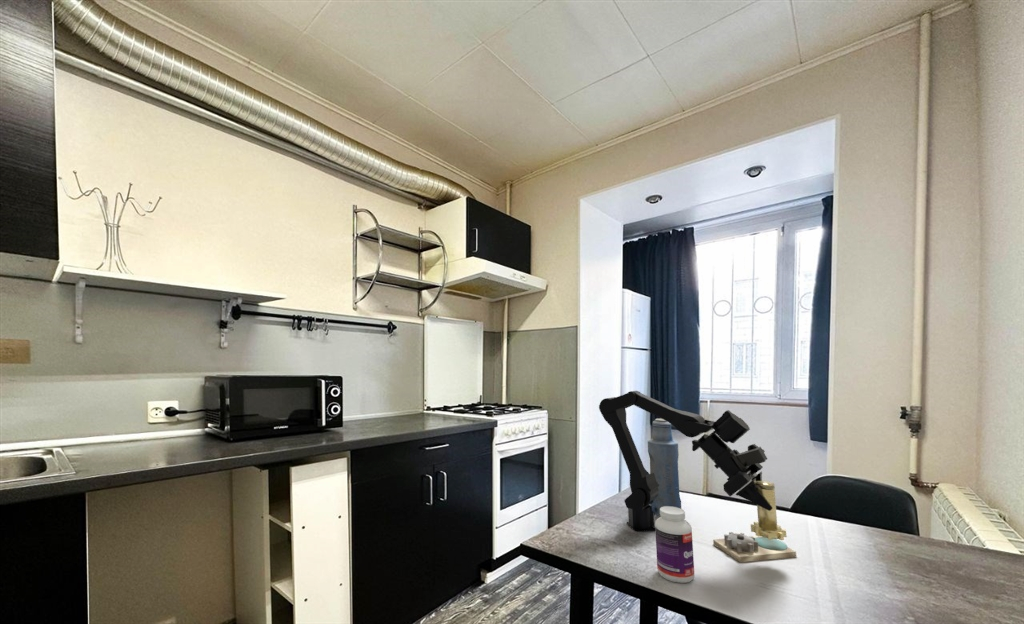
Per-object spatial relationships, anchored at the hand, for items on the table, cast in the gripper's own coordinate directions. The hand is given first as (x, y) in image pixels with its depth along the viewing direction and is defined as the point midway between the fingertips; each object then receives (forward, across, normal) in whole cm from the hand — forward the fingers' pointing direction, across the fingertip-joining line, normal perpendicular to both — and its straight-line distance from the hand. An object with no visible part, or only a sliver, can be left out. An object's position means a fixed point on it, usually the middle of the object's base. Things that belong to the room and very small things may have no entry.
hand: (772, 507), depth 99 cm
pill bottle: (-2, -21, +22) cm, 30 cm away
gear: (+4, 0, +6) cm, 7 cm away
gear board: (+5, +5, +14) cm, 15 cm away
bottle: (-14, +17, +33) cm, 40 cm away
